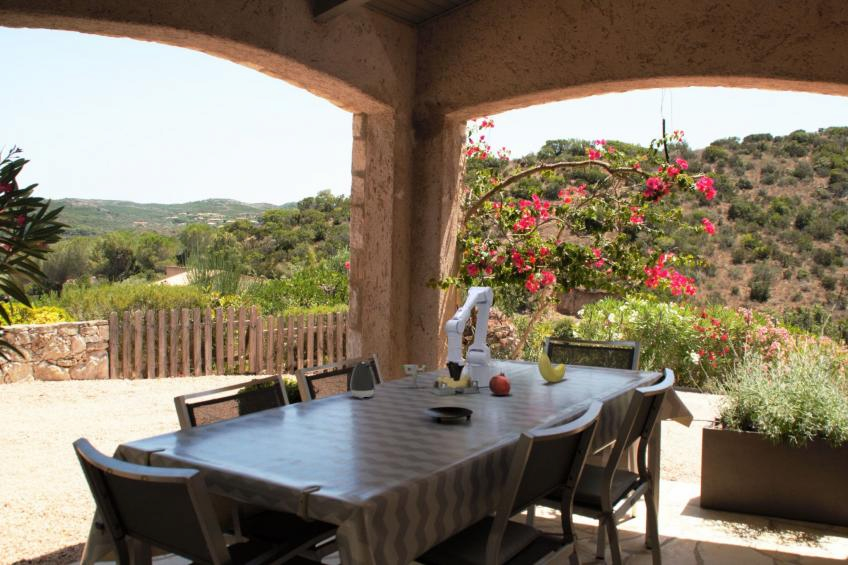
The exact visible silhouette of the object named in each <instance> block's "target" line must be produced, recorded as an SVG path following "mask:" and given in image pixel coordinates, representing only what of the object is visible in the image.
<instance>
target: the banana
mask: <svg viewBox="0 0 848 565" xmlns="http://www.w3.org/2000/svg"><path fill="white" fill-rule="evenodd" d="M546 346H547V345H546V342H545V340H542V341H541V347H542V351H541V354H540V356H539V357H538V363H537V364H538V371H539V374H540V376H541V377H542V378H543V380H545V381H546V382H549V383H559V382H560V381H561V380H562V379H563V378H564V377H565V375H566V369H567V368H566V364H564V363H561V364H559V365H557V366H556V367H554V366H553V365H552V363H551V360H550V358H549V356H548V354H547V353H546Z"/></svg>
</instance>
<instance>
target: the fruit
mask: <svg viewBox="0 0 848 565" xmlns="http://www.w3.org/2000/svg"><path fill="white" fill-rule="evenodd" d="M505 375H506V374H505V372H503V371H501V372H500V374H498V375H494V376H492V378H491V380H490V382H489V386H488V388H489V390H490V392H492V393H493V396H494V395H495V396H503V395H504V396H506V395H508V394H509V393H510V391H511V381H510V379H509V378H508V377H506V376H505Z"/></svg>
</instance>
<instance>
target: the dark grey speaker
mask: <svg viewBox="0 0 848 565" xmlns="http://www.w3.org/2000/svg"><path fill="white" fill-rule="evenodd" d="M371 366H372V364H371V363H369V362H368V361H367V360H363V359H362V360H358V361H357V363H356V364H355V365H354V368H353V369H352V374H351V378H350V384H349V387H350V388H349V389H350V392H351V394H352V396H354V398H356V397H362V398H361V399H364V398H363V397H369V398H370V397H372V395H373V394H374V393H375V389H376V381H375V377H374V376H375V375H374V373H373V369H372V367H371Z"/></svg>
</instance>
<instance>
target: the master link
mask: <svg viewBox="0 0 848 565" xmlns="http://www.w3.org/2000/svg"><path fill="white" fill-rule="evenodd" d="M437 380H438V387H439V383H447V388H455V387H467V386H469V381H471V376H470V375H468V374H465V375H461V376H460V380H459V381H454V377H450V376H446V377H445V376H440V377H437Z"/></svg>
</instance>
